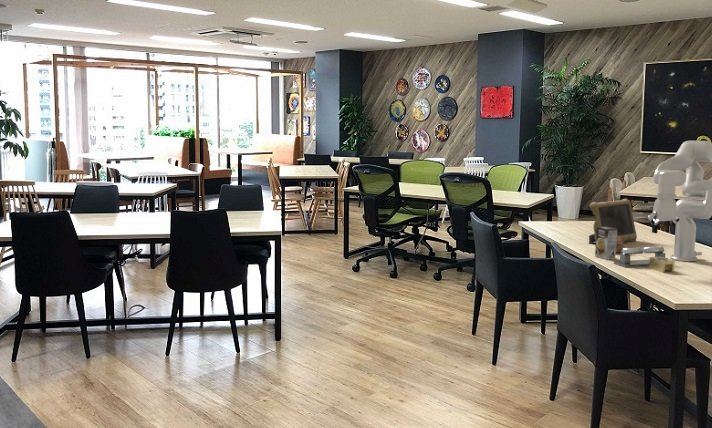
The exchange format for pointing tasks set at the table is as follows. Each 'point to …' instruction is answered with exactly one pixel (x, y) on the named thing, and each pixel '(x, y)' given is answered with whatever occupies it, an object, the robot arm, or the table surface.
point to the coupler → (661, 264)
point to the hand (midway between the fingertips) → (663, 232)
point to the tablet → (614, 219)
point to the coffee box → (606, 243)
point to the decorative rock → (619, 244)
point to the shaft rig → (625, 255)
